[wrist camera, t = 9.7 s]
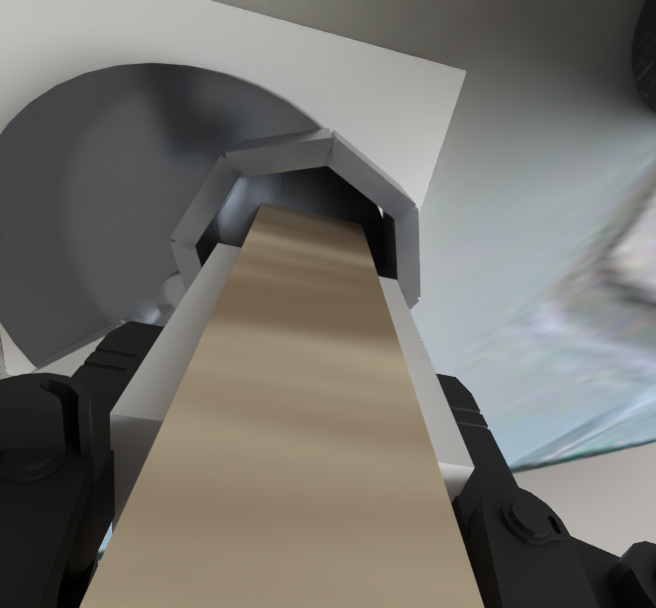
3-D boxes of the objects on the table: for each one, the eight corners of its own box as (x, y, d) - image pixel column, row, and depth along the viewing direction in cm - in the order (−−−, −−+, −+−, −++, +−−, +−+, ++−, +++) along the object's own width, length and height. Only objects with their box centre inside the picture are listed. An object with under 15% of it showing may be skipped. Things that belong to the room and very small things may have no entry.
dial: (383, 30, 14) (412, 6, 10) (403, 393, 21) (424, 470, 17) (-76, 101, 14) (-239, 107, 10) (100, 429, 22) (48, 510, 18)
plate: (-24, -58, 14) (-85, -83, 12) (451, 72, 17) (471, 70, 14) (31, 352, 23) (0, 380, 20) (345, 402, 25) (347, 433, 23)
